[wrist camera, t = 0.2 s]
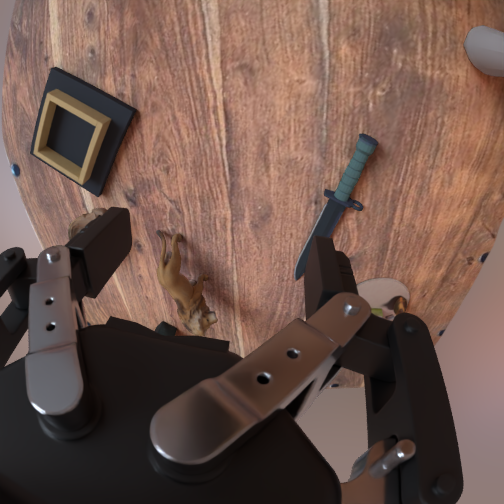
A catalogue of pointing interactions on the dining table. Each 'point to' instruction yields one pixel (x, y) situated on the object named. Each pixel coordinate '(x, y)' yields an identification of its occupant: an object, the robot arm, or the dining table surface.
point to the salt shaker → (486, 50)
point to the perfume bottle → (385, 296)
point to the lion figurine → (184, 289)
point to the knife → (338, 199)
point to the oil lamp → (84, 221)
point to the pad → (79, 130)
